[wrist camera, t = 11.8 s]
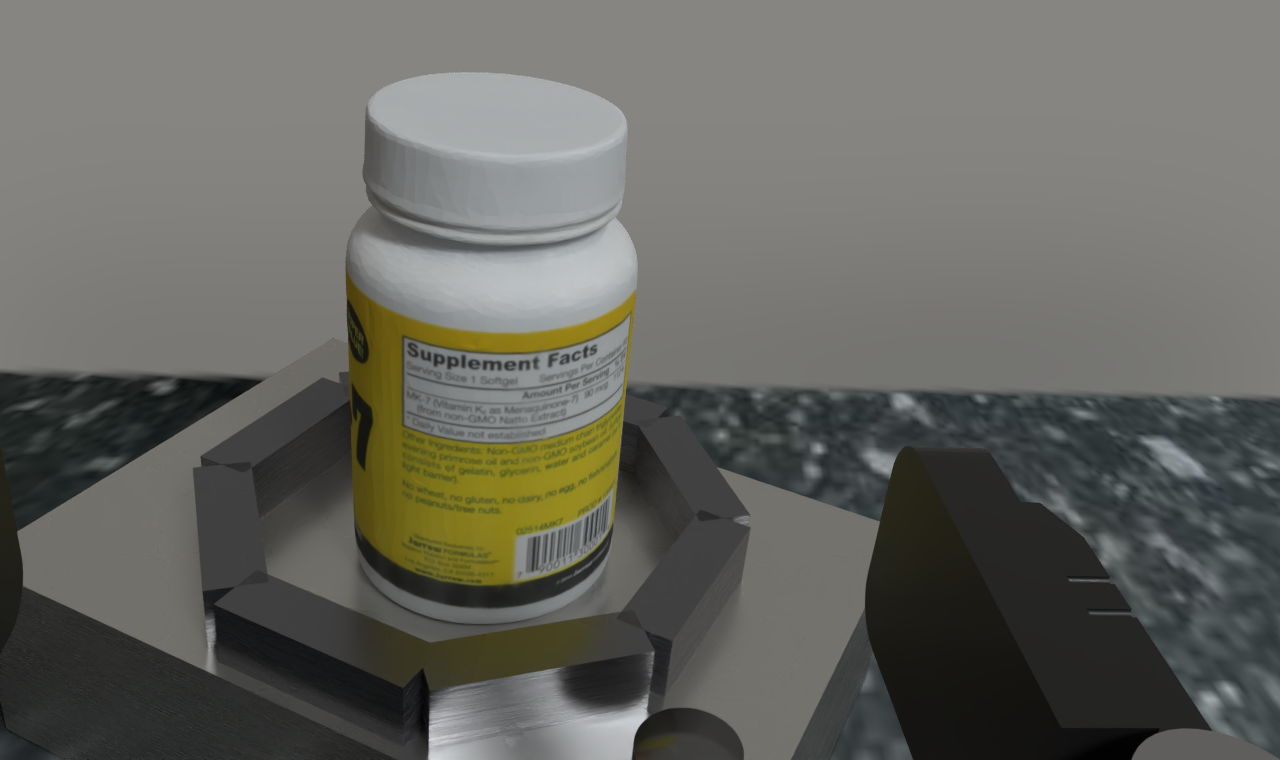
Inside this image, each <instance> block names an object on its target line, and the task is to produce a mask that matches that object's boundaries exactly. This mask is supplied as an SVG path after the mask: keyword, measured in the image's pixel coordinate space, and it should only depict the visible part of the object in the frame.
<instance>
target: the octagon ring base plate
mask: <svg viewBox="0 0 1280 760" xmlns="http://www.w3.org/2000/svg"><path fill="white" fill-rule="evenodd" d="M667 409H668V407H664V406H661V405H658V404H655V403H652V402H649V401H646V400H643V399H640V398H637V397H633V396H630V395H627V394H625V405H624V416H623V426H622V436H621V448H620V458H619V468H618V480H617V489H616V502H615V510H614V523H613V535H612V544H611V550H610V554H609V557H608V560H607V563H606V565H605V567H604V569H603V571H602V573H601V574H600V576H599V577H598V578H597V580H596V581H595V582H594V584H593V585H592V586H591V587H590V588H589V589H588V590H587V591H586V592H585V593H583V594H582V595H581V596H579V597H578V598H577V599H575V600H574V601H572V602H571V603H569V604H567V605H566V606H564V607H562V608H560V609H558V610H556V611H553V612H551V613H548V614H546V615H542V616H539V617H536V618H532V619H528V620H523V621H517V622H508V623H497V624H467V623H456V622H450V621H444V620H439V619H435V618H432V617H428V616H425V615H422V614H419V613H417V612H414V611H412V610H410V609H408V608H405V607H403V606H401V605H400V604H398V603H396V602H395V601H393V600H392V599H390V598H389V597H387V596H386V595H385V594H384V593H382V592H381V591H380V590H379V589H378V588H377V587H376V586H375V585H374V584H373V583H372V581H371V580H370V579H369V577H368V576H367V574H366V573H365V571H364V569H363V567H362V564H361V562H360V559H359V556H358V553H357V549H356V540H355V526H354V505H353V481H352V448H351V419H350V384H349V356H348V343H345V342H342V341H339V340H336V339H334V338H333V339H331V340H330V341H328V342H326V343H325V344H323V345H322V346H320V347H318V348H317V349H315V350H313V351H312V352H310V353H308V354H307V355H305V356H303V357H302V358H300V359H299V360H297V361H296V362H294V363H292V364H290V365H289V366H287V367H286V368H284V369H282V370H281V371H279V372H277V373H276V374H274V375H272V376H271V377H269V378H268V379H266V380H264V381H263V382H261V383H259V384H258V385H256V386H254V387H253V388H251V389H250V390H248V391H246V392H245V393H243V394H241V395H240V396H238V397H237V398H235V399H233V400H232V401H230V402H228V403H227V404H225V405H223V406H222V407H220V408H219V409H217V410H215V411H214V412H212V413H210V414H209V415H207V416H206V417H204V418H202V419H201V420H199V421H197V422H196V423H194V424H192V425H191V426H189V427H188V428H186V429H184V430H183V431H181V432H179V433H178V434H176V435H175V436H173V437H171V438H170V439H168V440H166V441H165V442H163V443H161V444H160V445H158V446H157V447H155V448H153V449H152V450H150V451H148V452H147V453H145V454H143V455H142V456H140V457H139V458H137V459H135V460H134V461H132V462H130V463H129V464H127V465H126V466H124V467H122V468H121V469H119V470H117V471H116V472H114V473H112V474H111V475H109V476H108V477H106V478H104V479H103V480H101V481H99V482H98V483H96V484H95V485H93V486H91V487H90V488H88V489H86V490H85V491H83V492H81V493H80V494H78V495H77V496H75V497H73V498H72V499H70V500H68V501H67V502H65V503H64V504H62V505H60V506H59V507H57V508H55V509H54V510H52V511H50V512H49V513H47V514H46V515H44V516H42V517H41V518H39V519H37V520H36V521H34V522H33V523H31V524H29V525H28V526H26V527H24V528H23V529H21V530H19V531H18V532H17V534H18V539H19V544H20V550H21V555H22V562H23V590H22V598H21V604H20V609H19V613H18V616H17V620H16V623H15V626H14V628H13V630H12V633H11V635H10V637H9V639H8V640H7V642H6V644H5V646H4V648H3V650H2V652H1V654H0V702H1V707H2V711H3V716H4V720H5V725H6V729H7V730H9V731H11V732H13V733H15V734H17V735H19V736H21V737H22V738H24V739H26V740H28V741H30V742H32V743H34V744H36V745H38V746H40V747H42V748H44V749H46V750H47V751H49V752H51V753H53V754H55V755H57V756H59V757H61V758H63V759H65V760H829V759H830V756H831V754H832V752H833V750H834V747H835V745H836V743H837V741H838V739H839V736H840V734H841V732H842V730H843V727H844V725H845V723H846V721H847V719H848V716H849V714H850V712H851V710H852V707H853V705H854V703H855V701H856V699H857V696H858V694H859V692H860V690H861V687H862V685H863V683H864V681H865V679H866V675H867V671H868V667H869V663H870V659H871V655H872V651H873V650H872V647H871V644H870V641H869V637H868V632H867V626H866V617H865V588H866V580H867V575H868V570H869V566H870V562H871V558H872V554H873V549H874V545H875V541H876V537H877V532H878V528H879V524H880V522H879V521H876V520H873V519H870V518H867V517H864V516H861V515H858V514H855V513H852V512H849V511H846V510H843V509H840V508H837V507H834V506H831V505H828V504H825V503H822V502H819V501H816V500H813V499H810V498H807V497H804V496H801V495H798V494H795V493H792V492H789V491H786V490H783V489H780V488H777V487H774V486H772V485H769V484H766V483H763V482H760V481H757V480H754V479H751V478H748V477H745V476H742V475H739V474H736V473H733V472H730V471H727V470H724V469H721V468H718V467H716V465H715V464H714V463H713V461H712V460H711V458H710V457H709V456H708V454H707V453H706V451H705V450H704V448H703V447H702V446H701V444H700V443H699V441H698V440H697V439H696V437H695V436H694V434H693V433H692V431H691V430H690V429H689V427H688V426H687V424H686V423H685V421H684V420H683V419H682V417H681V416H672V417H667Z"/></svg>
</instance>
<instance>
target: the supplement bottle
mask: <svg viewBox="0 0 1280 760" xmlns="http://www.w3.org/2000/svg"><path fill="white" fill-rule="evenodd" d="M365 122H366V123H365V155H364V165H363V178H364V182H365V184H366V192H367V196H368V199H369V201H370V202H371V204H372V206H371V207H370V208H369V209H368V210H367V211H366V212H365V213H364V214H363V215H362V216H361V218H360V219H359V220H358V221H357V223H356V225H355V227H354V228H353V230H352V232H351V234H350V237H349V241H348V245H347V252H346V293H347V326H348V356H349V384H350V419H351V448H352V481H353V505H354V526H355V540H356V549H357V553H358V556H359V559H360V562H361V564H362V567H363V569H364V571H365V573H366V574H367V576H368V577H369V579H370V580H371V581H372V583H373V584H374V585H375V586H376V587H377V588H378V589H379V590H380V591H381V592H382V593H384V594H385V595H386V596H387V597H389V598H390V599H392V600H393V601H395V602H396V603H398V604H400V605H401V606H403V607H405V608H408V609H410V610H412V611H414V612H417V613H419V614H422V615H425V616H428V617H432V618H435V619H439V620H444V621H450V622H456V623H467V624H497V623H508V622H517V621H523V620H528V619H532V618H536V617H539V616H542V615H546V614H548V613H551V612H553V611H556V610H558V609H560V608H562V607H564V606H566V605H567V604H569V603H571V602H572V601H574V600H575V599H577V598H578V597H579V596H581V595H582V594H583V593H585V592H586V591H587V590H588V589H589V588H590V587H591V586H592V585H593V584H594V582H595V581H596V580H597V578H598V577H599V576H600V574H601V573H602V571H603V569H604V567H605V565H606V563H607V560H608V557H609V554H610V550H611V544H612V535H613V523H614V510H615V502H616V489H617V480H618V468H619V458H620V448H621V436H622V426H623V416H624V405H625V394H626V384H627V375H628V366H629V357H630V348H631V339H632V329H633V320H634V310H635V299H636V286H637V270H638V264H637V257H636V252H635V249H634V246H633V243H632V241H631V239H630V237H629V235H628V233H627V231H626V230H625V229H624V227H623V226H622V225H621V223H620V222H619V221H618V220H617V219H616V218H615V217H616V215H617V214H618V213H619V211H620V208H621V205H622V197H623V194H624V190H625V168H626V153H627V152H626V151H627V137H628V129H627V128H628V127H627V121H626V119H625V117H624V115H623V113H622V112H621V111H620V110H619V109H618V108H617V107H616V106H615V105H613V104H612V103H610V102H608V101H607V100H605V99H603V98H602V97H599V96H597V95H595V94H593V93H590V92H587V91H585V90H582V89H579V88H577V87H574V86H570V85H567V84H562V83H557V82H554V81H549V80H544V79H540V78H534V77H528V76H520V75H511V74H500V73H480V72H467V73H466V72H465V73H441V74H432V75H425V76H419V77H414V78H409V79H405V80H401V81H399V82H396V83H393V84H390V85H388V86H386V87H384V88H382V89H380V90H379V91H378V92H377V93H375V94H374V95H373V96H372V97H371V98H370V100H369V102H368V104H367V107H366V120H365Z"/></svg>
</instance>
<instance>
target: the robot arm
mask: <svg viewBox="0 0 1280 760" xmlns="http://www.w3.org/2000/svg"><path fill="white" fill-rule="evenodd" d="M1109 577H1110V576H1109V575H1108V573H1107V572H1106V570H1105V569H1104V567H1103V566H1102V564H1101V563H1100V561H1099V560H1098V558H1097V557H1096V555H1095V554H1094V552H1093V551H1092V549H1091V548H1090V546H1089V545H1088V543H1087V542H1086V540H1085V539H1084V537H1082V536H1081V535H1080V534H1079V533H1077V532H1076V531H1075V530H1074V529H1072V528H1071V527H1070V526H1069V525H1067V524H1066V523H1065V522H1063V521H1062V520H1061V519H1060V518H1058V517H1057V516H1056V515H1055V514H1053V513H1052V512H1051V511H1050V510H1048V509H1047V508H1046V507H1044V506H1043V505H1042V504H1041V503H1029V502H1020V500H1019V499H1018V497H1017V495H1016V494H1015V492H1014V491H1013V489H1012V487H1011V486H1010V484H1009V482H1008V481H1007V479H1006V478H1005V476H1004V474H1003V473H1002V471H1001V469H1000V468H999V466H998V465H997V463H996V461H995V460H994V458H993V457H992V455H991V454H990V453H989V452H988V451H987V450H985V449H982V448H952V447H921V446H906V447H904V448H903V449H902V450H901V451H900V452H899V454H898V456H897V457H896V460H895V463H894V466H893V469H892V473H891V478H890V482H889V486H888V490H887V494H886V499H885V503H884V507H883V511H882V516H881V520H880V524H879V528H878V532H877V537H876V541H875V545H874V549H873V554H872V558H871V562H870V566H869V570H868V575H867V580H866V588H865V617H866V626H867V632H868V637H869V641H870V644H871V647H872V650H873V652H874V655H875V658H876V660H877V663H878V666H879V669H880V671H881V674H882V677H883V679H884V682H885V685H886V687H887V690H888V693H889V695H890V698H891V701H892V704H893V706H894V709H895V712H896V714H897V717H898V720H899V722H900V725H901V728H902V731H903V733H904V736H905V739H906V741H907V744H908V747H909V749H910V752H911V755H912V757H913V760H1280V759H1278V758H1276V757H1275V756H1273V755H1271V754H1270V753H1268V752H1266V751H1265V750H1263V749H1261V748H1258V747H1256V746H1254V745H1252V744H1250V743H1248V742H1245V741H1243V740H1240V739H1238V738H1235V737H1232V736H1229V735H1225V734H1221V733H1218V732H1214V731H1212V730H1211V728H1210V727H1209V725H1208V724H1207V722H1206V721H1205V719H1204V718H1203V716H1202V715H1201V713H1200V712H1199V710H1198V709H1197V707H1196V706H1195V704H1194V703H1193V701H1192V700H1191V698H1190V697H1189V695H1188V694H1187V692H1186V691H1185V689H1184V688H1183V686H1182V685H1181V683H1180V682H1179V680H1178V679H1177V677H1176V676H1175V674H1174V673H1173V671H1172V670H1171V668H1170V667H1169V665H1168V664H1167V662H1166V661H1165V659H1164V658H1163V656H1162V655H1161V653H1160V652H1159V650H1158V649H1157V647H1156V646H1155V644H1154V643H1153V641H1152V640H1151V638H1150V637H1149V635H1148V634H1147V632H1146V631H1145V629H1144V628H1143V626H1142V625H1141V623H1140V622H1139V620H1138V619H1137V618H1132V617H1131V608H1130V607H1129V605H1128V604H1127V602H1126V600H1125V599H1124V597H1123V596H1122V594H1121V593H1120V591H1119V590H1118V588H1117V587H1116V585H1115V584H1110V583H1109ZM22 590H23V562H22V555H21V550H20V544H19V539H18V534H17V529H16V524H15V518H14V513H13V508H12V503H11V498H10V493H9V487H8V482H7V477H6V472H5V467H4V461H3V456H2V451H1V446H0V654H1V652H2V650H3V648H4V646H5V644H6V642H7V640H8V639H9V637H10V635H11V633H12V630H13V628H14V626H15V623H16V620H17V616H18V613H19V609H20V604H21V598H22Z"/></svg>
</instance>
